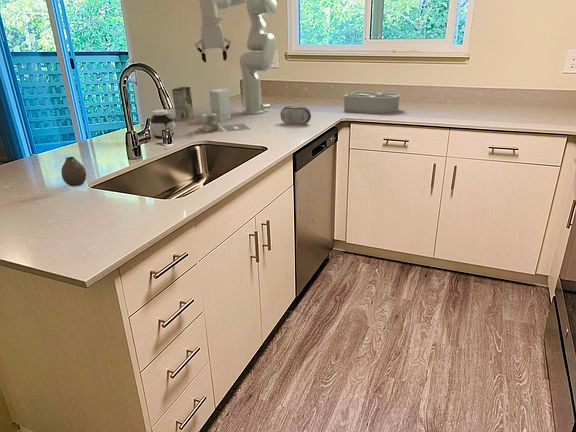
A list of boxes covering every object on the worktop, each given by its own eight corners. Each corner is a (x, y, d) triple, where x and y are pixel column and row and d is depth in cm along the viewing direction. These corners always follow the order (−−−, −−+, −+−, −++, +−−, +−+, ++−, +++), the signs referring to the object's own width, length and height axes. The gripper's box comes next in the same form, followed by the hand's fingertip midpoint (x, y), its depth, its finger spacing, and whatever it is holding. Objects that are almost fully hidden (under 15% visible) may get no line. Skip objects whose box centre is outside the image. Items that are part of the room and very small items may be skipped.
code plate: (243, 124, 216) (243, 123, 216) (250, 130, 204) (250, 129, 203) (221, 126, 212) (221, 125, 212) (227, 132, 200) (227, 131, 200)
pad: (218, 127, 211) (218, 126, 211) (224, 132, 201) (224, 131, 201) (198, 129, 208) (197, 128, 208) (202, 134, 198) (202, 133, 198)
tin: (311, 124, 212) (311, 106, 209) (309, 125, 210) (309, 107, 206) (282, 122, 217) (281, 105, 214) (280, 124, 214) (279, 106, 211)
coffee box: (183, 117, 238) (179, 86, 232) (194, 117, 237) (190, 86, 231) (175, 120, 230) (171, 89, 224) (187, 120, 229) (183, 89, 222)
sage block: (215, 128, 208) (214, 113, 205) (218, 130, 203) (216, 115, 200) (203, 129, 206) (201, 114, 203) (205, 131, 201) (203, 116, 198)
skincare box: (222, 118, 231) (220, 88, 225) (232, 119, 228) (229, 88, 222) (211, 121, 225) (208, 90, 219) (221, 122, 222) (218, 91, 215)
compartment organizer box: (354, 106, 254) (355, 91, 250) (402, 109, 240) (403, 93, 237) (343, 111, 240) (343, 95, 237) (392, 115, 227) (394, 98, 224)
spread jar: (154, 140, 191) (150, 113, 186) (149, 135, 200) (144, 109, 196) (181, 136, 196) (177, 110, 191) (175, 131, 205) (171, 106, 201)
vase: (69, 181, 142) (62, 155, 138) (91, 180, 142) (85, 154, 139) (61, 188, 135) (54, 161, 132) (83, 187, 136) (77, 160, 132)
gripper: (226, 20, 206) (230, 58, 214) (190, 23, 201) (195, 62, 209) (230, 20, 200) (234, 60, 208) (193, 23, 195) (198, 63, 202)
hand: (214, 61), depth 208 cm, fingers open, 9 cm apart
